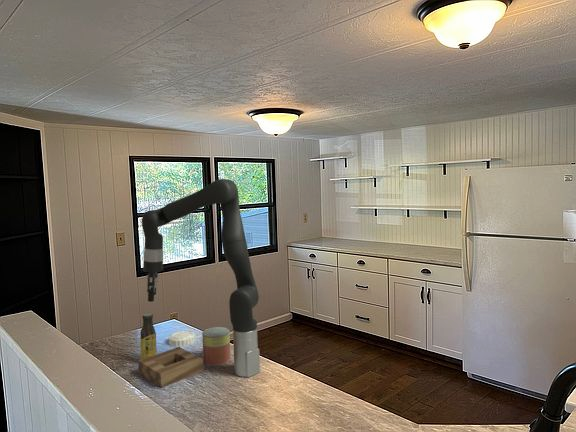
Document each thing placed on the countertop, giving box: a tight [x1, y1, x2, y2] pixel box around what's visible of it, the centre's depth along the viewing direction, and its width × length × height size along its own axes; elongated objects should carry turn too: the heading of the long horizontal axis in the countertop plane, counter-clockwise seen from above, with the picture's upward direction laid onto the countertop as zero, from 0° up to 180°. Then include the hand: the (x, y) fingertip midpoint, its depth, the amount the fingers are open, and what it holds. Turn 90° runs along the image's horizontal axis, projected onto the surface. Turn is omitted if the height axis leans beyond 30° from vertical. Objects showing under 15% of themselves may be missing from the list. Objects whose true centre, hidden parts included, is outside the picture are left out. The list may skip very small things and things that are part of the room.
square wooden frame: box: [137, 347, 204, 388], centre depth 167 cm, size 18×18×5 cm
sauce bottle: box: [139, 312, 157, 360], centre depth 177 cm, size 6×6×20 cm
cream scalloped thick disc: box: [168, 330, 196, 348], centre depth 199 cm, size 12×12×4 cm
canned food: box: [201, 326, 231, 367], centre depth 178 cm, size 11×11×12 cm
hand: (152, 298), depth 174 cm, fingers open, 8 cm apart
